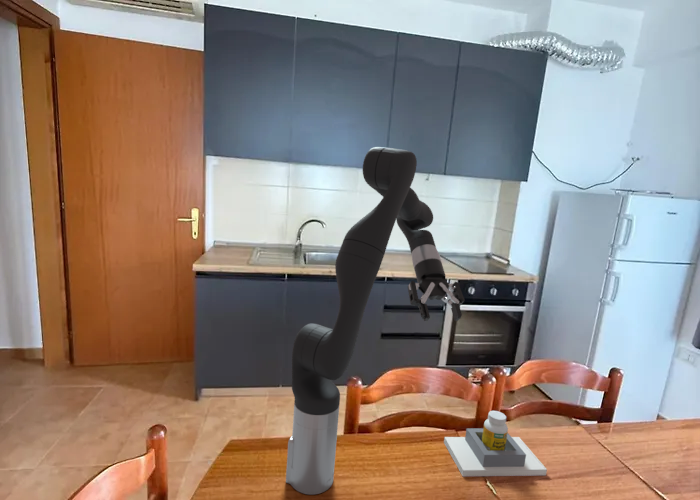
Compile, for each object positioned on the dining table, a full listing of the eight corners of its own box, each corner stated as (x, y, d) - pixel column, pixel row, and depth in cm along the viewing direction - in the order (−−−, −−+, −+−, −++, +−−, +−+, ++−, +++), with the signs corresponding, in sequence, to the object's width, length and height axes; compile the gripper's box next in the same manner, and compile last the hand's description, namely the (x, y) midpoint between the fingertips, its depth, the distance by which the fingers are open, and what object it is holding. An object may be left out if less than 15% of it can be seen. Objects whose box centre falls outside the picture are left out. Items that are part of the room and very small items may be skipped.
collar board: (462, 476, 89) (465, 458, 89) (443, 442, 101) (445, 426, 100) (545, 475, 92) (549, 457, 91) (518, 442, 104) (520, 426, 103)
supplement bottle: (493, 443, 100) (498, 407, 98) (509, 457, 95) (514, 419, 93) (475, 446, 98) (480, 410, 96) (490, 461, 93) (496, 422, 91)
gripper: (408, 256, 105) (422, 312, 95) (457, 258, 108) (475, 312, 99) (398, 271, 110) (411, 326, 101) (445, 273, 114) (461, 325, 105)
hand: (442, 319), depth 100 cm, fingers open, 8 cm apart
